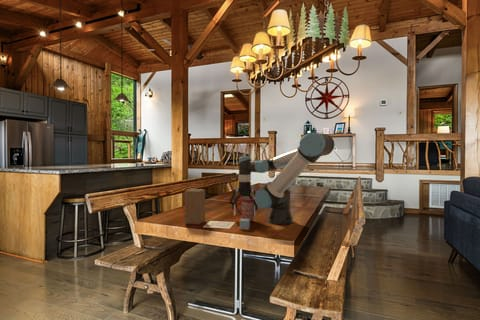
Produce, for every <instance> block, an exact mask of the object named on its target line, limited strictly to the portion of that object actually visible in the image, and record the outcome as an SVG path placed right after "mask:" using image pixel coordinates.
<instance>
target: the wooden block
mask: <svg viewBox="0 0 480 320" xmlns="http://www.w3.org/2000/svg"><path fill="white" fill-rule="evenodd" d="M205 220H206V190H205V189H204V188H201V189H200V188H199V189H198V188H189V189H186V190H185V191H184V224H186V225H197V226H198V225H201V224H203V223H204V222H205Z"/></svg>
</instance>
